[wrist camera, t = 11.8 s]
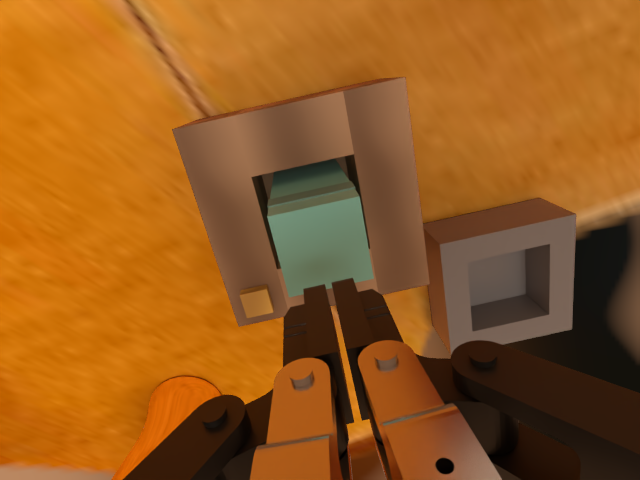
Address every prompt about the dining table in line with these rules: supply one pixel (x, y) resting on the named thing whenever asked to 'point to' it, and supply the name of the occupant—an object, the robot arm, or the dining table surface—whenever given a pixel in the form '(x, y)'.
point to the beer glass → (166, 415)
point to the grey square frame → (501, 273)
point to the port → (297, 150)
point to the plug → (318, 227)
